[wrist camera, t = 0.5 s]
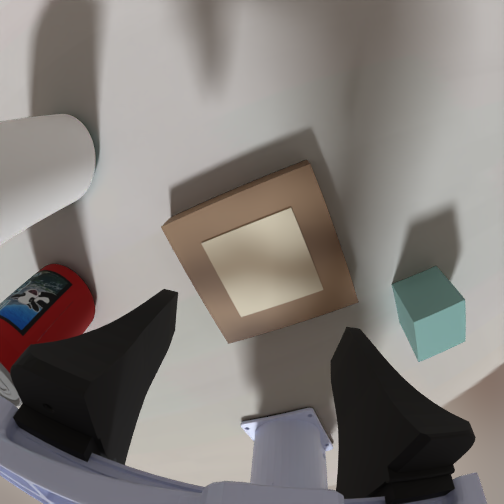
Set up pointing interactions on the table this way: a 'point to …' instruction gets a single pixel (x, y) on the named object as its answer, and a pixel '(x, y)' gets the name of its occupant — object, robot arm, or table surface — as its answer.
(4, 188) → the can
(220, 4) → the table surface
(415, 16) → the table surface
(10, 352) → the beverage can
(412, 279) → the teal block
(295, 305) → the walnut base
